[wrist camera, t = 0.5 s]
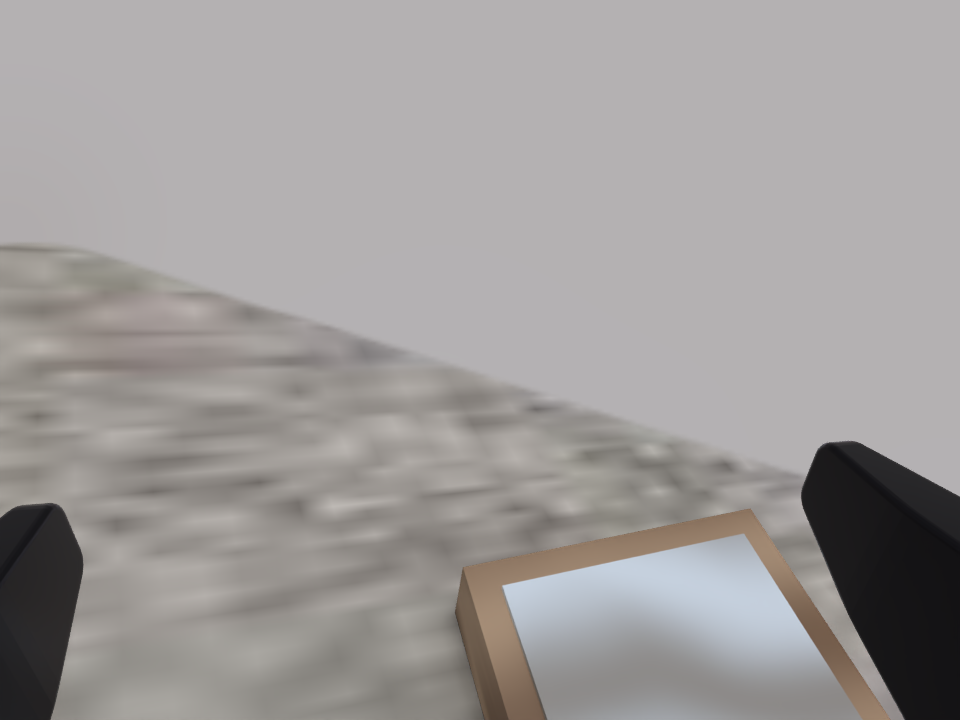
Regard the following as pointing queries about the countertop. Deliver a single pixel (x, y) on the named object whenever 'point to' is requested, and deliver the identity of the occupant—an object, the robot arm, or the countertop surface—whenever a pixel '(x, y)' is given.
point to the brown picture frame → (656, 632)
